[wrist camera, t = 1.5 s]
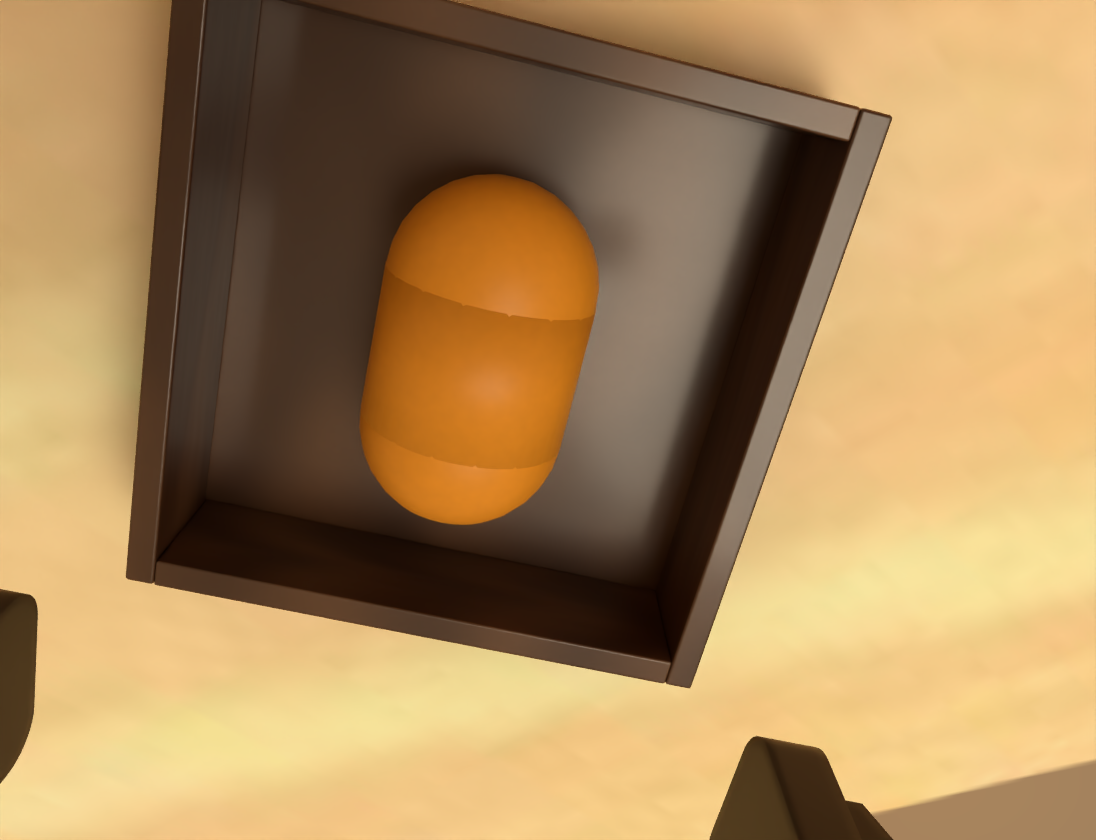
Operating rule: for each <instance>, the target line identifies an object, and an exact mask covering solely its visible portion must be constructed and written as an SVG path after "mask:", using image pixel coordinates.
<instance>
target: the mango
mask: <svg viewBox="0 0 1096 840" xmlns="http://www.w3.org/2000/svg"><path fill="white" fill-rule="evenodd" d="M598 292H599V273H598V264H597V260H596V256H595V252H594V248H593V245H592V243H591V241H590V239H589V237H588V235H587V233H586V231H585V228H584V227H583V225H582V224H581V223H580V221H579V220H578V219H577V217H576V216H575V215H574V213H573V212H572V211H571V209H570V208H569V207H567V206H566V205H565V204H564V203H563V202H562V201H561V200H560V199H559V198H558V197H556V196H555V195H554V194H552V193H551V192H549V191H547V190H545V189H544V188H542V187H540V186H539V185H537V184H535V183H533V182H530V181H527V180H524V179H520V178H516V177H512V176H507V175H501V174H486V175H472V176H469V177H465V178H461V179H458V180H454V181H451V182H449V183H448V184H446V185H444V186H442V187H440V188H438V189H436V190H434V191H432V192H431V193H430V194H428V195H427V196H426V197H425V198H423V199H422V200H421V201H420V202H418V203H417V204H416V205H415V206H414V207H413V209H412V210H411V211H410V212H409V214H408V215H407V216H406V217H405V218H404V220H403V221H402V223H401V225H400V227H399V228H398V230H397V232H396V234H395V236H394V238H393V240H392V243H391V247H390V250H389V254H388V257H387V261H386V263H385V269H384V274H383V280H382V286H381V292H380V298H379V303H378V309H377V315H376V321H375V326H374V332H373V338H372V344H371V350H370V355H369V361H368V367H367V373H366V378H365V384H364V390H363V396H362V402H361V409H360V424H359V429H360V436H361V442H362V447H363V451H364V455H365V457H366V460H367V462H368V465H369V467H370V470H371V472H372V473H373V475H374V476H375V477H376V479H377V480H378V482H379V483H380V485H381V486H382V487H383V489H384V490H385V492H386V493H388V494H389V495H390V496H391V497H392V498H393V499H394V500H395V501H397V502H398V503H399V504H400V505H401V506H403V507H404V508H406V509H407V510H409V511H410V512H412V513H414V514H416V515H418V516H421V517H424V518H426V519H429V520H433V521H437V522H440V523H447V524H456V525H471V524H478V523H483V522H486V521H490V520H493V519H496V518H499V517H502V516H504V515H506V514H507V513H509V512H511V511H512V510H514V509H516V508H517V507H519V506H521V505H522V504H524V503H525V502H526V501H527V500H528V499H529V498H530V497H531V496H532V495H533V494H534V493H535V492H536V491H537V490H538V489H539V488H540V487H541V486H542V484H543V483H544V481H545V480H546V478H547V477H548V475H549V473H550V472H551V470H552V469H553V466H554V463H555V461H556V458H557V455H558V453H559V450H560V447H561V443H562V439H563V435H564V432H565V428H566V424H567V420H568V416H569V412H570V409H571V405H572V401H573V397H574V393H575V390H576V386H577V382H578V378H579V374H580V370H581V367H582V363H583V359H584V355H585V351H586V348H587V344H588V340H589V336H590V332H591V328H592V325H593V321H594V317H595V313H596V305H597V299H598Z"/></svg>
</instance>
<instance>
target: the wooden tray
mask: <svg viewBox="0 0 1096 840" xmlns="http://www.w3.org/2000/svg"><path fill="white" fill-rule="evenodd" d="M891 121H892V117H891V116H890V115H887V114H883V113H880V112H876V111H872V110H868V109H864V108H859V107H857V106H853V105H849V104H845V103H841V102H837V101H834V100H830V99H826V98H822V97H818V96H814V95H811V94H807V93H803V92H799V91H795V90H791V89H787V88H784V87H780V86H776V85H772V84H768V83H764V82H761V81H757V80H753V79H749V78H745V77H741V76H738V75H734V74H730V73H726V72H722V71H718V70H714V69H711V68H707V67H703V66H699V65H695V64H691V63H688V62H684V61H680V60H676V59H672V58H668V57H665V56H661V55H657V54H653V53H649V52H645V51H642V50H638V49H634V48H630V47H626V46H622V45H618V44H615V43H611V42H607V41H603V40H599V39H595V38H592V37H588V36H584V35H580V34H576V33H572V32H569V31H565V30H561V29H557V28H553V27H549V26H545V25H542V24H538V23H534V22H530V21H526V20H522V19H519V18H515V17H511V16H507V15H503V14H499V13H496V12H492V11H488V10H484V9H480V8H476V7H472V6H469V5H465V4H461V3H457V2H453V1H449V0H172V5H171V17H170V30H169V42H168V55H167V67H166V80H165V93H164V105H163V118H162V130H161V143H160V155H159V168H158V180H157V193H156V205H155V218H154V230H153V243H152V256H151V268H150V281H149V293H148V306H147V318H146V331H145V343H144V356H143V368H142V381H141V393H140V406H139V419H138V431H137V444H136V456H135V469H134V481H133V494H132V506H131V519H130V531H129V544H128V556H127V569H126V578H127V579H130V580H135V581H140V582H145V583H155V585H159V586H164V587H169V588H174V589H179V590H185V591H190V592H195V593H200V594H205V595H210V596H216V597H221V598H226V599H231V600H236V601H241V602H246V603H252V604H257V605H262V606H267V607H272V608H277V609H283V610H288V611H293V612H298V613H303V614H308V615H313V616H319V617H324V618H329V619H334V620H339V621H344V622H349V623H355V624H360V625H365V626H370V627H375V628H380V629H386V630H391V631H396V632H401V633H406V634H411V635H416V636H422V637H427V638H432V639H437V640H442V641H447V642H453V643H458V644H463V645H468V646H473V647H478V648H483V649H489V650H494V651H499V652H504V653H509V654H514V655H519V656H525V657H530V658H535V659H540V660H545V661H550V662H556V663H561V664H566V665H571V666H576V667H581V668H586V669H592V670H597V671H602V672H607V673H612V674H617V675H623V676H628V677H633V678H638V679H643V680H648V681H653V682H659V683H665V682H666V683H667V684H669V685H675V686H680V687H685V688H690V687H691V685H692V682H693V679H694V676H695V674H696V671H697V668H698V665H699V662H700V659H701V657H702V654H703V651H704V648H705V645H706V643H707V640H708V637H709V634H710V631H711V628H712V626H713V623H714V620H715V617H716V614H717V612H718V609H719V606H720V603H721V600H722V597H723V595H724V592H725V589H726V586H727V583H728V580H729V578H730V575H731V572H732V569H733V566H734V564H735V561H736V558H737V555H738V552H739V549H740V547H741V544H742V541H743V538H744V535H745V533H746V530H747V527H748V524H749V521H750V518H751V516H752V513H753V510H754V507H755V504H756V501H757V499H758V496H759V493H760V490H761V487H762V485H763V482H764V479H765V476H766V473H767V470H768V468H769V465H770V462H771V459H772V456H773V453H774V451H775V448H776V445H777V442H778V439H779V437H780V434H781V431H782V428H783V425H784V422H785V420H786V417H787V414H788V411H789V408H790V406H791V403H792V400H793V397H794V394H795V391H796V389H797V386H798V383H799V380H800V377H801V374H802V372H803V369H804V366H805V363H806V360H807V358H808V355H809V352H810V349H811V346H812V343H813V341H814V338H815V335H816V332H817V329H818V327H819V324H820V321H821V318H822V315H823V312H824V310H825V307H826V304H827V301H828V298H829V295H830V293H831V290H832V287H833V284H834V281H835V279H836V276H837V273H838V270H839V267H840V264H841V262H842V259H843V256H844V253H845V250H846V248H847V245H848V242H849V239H850V236H851V233H852V231H853V228H854V225H855V222H856V219H857V216H858V214H859V211H860V208H861V205H862V202H863V200H864V197H865V194H866V191H867V188H868V185H869V183H870V180H871V177H872V174H873V171H874V168H875V166H876V163H877V160H878V157H879V154H880V152H881V149H882V146H883V143H884V140H885V137H886V135H887V132H888V129H889V126H890V123H891ZM486 174H501V175H507V176H512V177H516V178H520V179H524V180H527V181H530V182H533V183H535V184H537V185H539V186H540V187H542V188H544V189H545V190H547V191H549V192H551V193H552V194H554V195H555V196H556V197H558V198H559V199H560V200H561V201H562V202H563V203H564V204H565V205H566V206H567V207H569V208H570V209H571V211H572V212H573V213H574V215H575V216H576V217H577V219H578V220H579V221H580V223H581V224H582V225H583V227H584V228H585V231H586V233H587V235H588V237H589V239H590V241H591V243H592V245H593V248H594V252H595V256H596V260H597V264H598V273H599V292H598V299H597V305H596V313H595V317H594V321H593V325H592V328H591V332H590V336H589V340H588V344H587V348H586V351H585V355H584V359H583V363H582V367H581V370H580V374H579V378H578V382H577V386H576V390H575V393H574V397H573V401H572V405H571V409H570V412H569V416H568V420H567V424H566V428H565V432H564V435H563V439H562V443H561V447H560V450H559V453H558V455H557V458H556V461H555V463H554V466H553V469H552V470H551V472H550V473H549V475H548V477H547V478H546V480H545V481H544V483H543V484H542V486H541V487H540V488H539V489H538V490H537V491H536V492H535V493H534V494H533V495H532V496H531V497H530V498H529V499H528V500H527V501H526V502H525V503H524V504H522V505H521V506H519V507H517V508H516V509H514V510H512V511H511V512H509V513H507V514H506V515H504V516H502V517H499V518H496V519H493V520H490V521H486V522H483V523H478V524H471V525H456V524H447V523H440V522H437V521H433V520H429V519H426V518H424V517H421V516H418V515H416V514H414V513H412V512H410V511H409V510H407V509H406V508H404V507H403V506H401V505H400V504H399V503H398V502H397V501H395V500H394V499H393V498H392V497H391V496H390V495H389V494H388V493H386V492H385V490H384V489H383V487H382V486H381V485H380V483H379V482H378V480H377V479H376V477H375V476H374V475H373V473H372V472H371V470H370V467H369V465H368V462H367V460H366V457H365V455H364V451H363V447H362V442H361V436H360V429H359V424H360V409H361V402H362V396H363V390H364V384H365V378H366V373H367V367H368V361H369V355H370V350H371V344H372V338H373V332H374V326H375V321H376V315H377V309H378V303H379V298H380V292H381V286H382V280H383V274H384V269H385V263H386V261H387V257H388V254H389V250H390V247H391V243H392V240H393V238H394V236H395V234H396V232H397V230H398V228H399V227H400V225H401V223H402V221H403V220H404V218H405V217H406V216H407V215H408V214H409V212H410V211H411V210H412V209H413V207H414V206H415V205H416V204H417V203H418V202H420V201H421V200H422V199H423V198H425V197H426V196H427V195H428V194H430V193H431V192H432V191H434V190H436V189H438V188H440V187H442V186H444V185H446V184H448V183H449V182H451V181H454V180H458V179H461V178H465V177H469V176H472V175H486Z"/></svg>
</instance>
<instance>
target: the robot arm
mask: <svg viewBox="0 0 1096 840" xmlns="http://www.w3.org/2000/svg"><path fill="white" fill-rule="evenodd" d="M37 620H38V609H37V604H36V601H35V599H34V598H33V596H31V595H28V594H23V593H18V592H13V591H7V590H2V589H0V783H1V782H2V781H3V780H4V778H5V777H6V776H7V774H8V773H9V772H10V770H11V769H12V767H13V766H14V764H15V762H16V761H17V759H18V757H19V755H20V753H21V751H22V749H23V747H24V745H25V742H26V739H27V737H28V734H29V731H30V727H31V723H32V719H33V714H34V698H35V672H36V646H37ZM709 840H893V839H892V838H891V837H890V836H889V834H888V833H887V832H886V831H885V830H884V829H883V827H882V826H881V825H880V824H879V823H878V822H877V820H876V819H875V818H874V817H873V816H872V815H871V813H870V812H869V811H868V810H867V809H866V808H865V807H864V805H863V804H861V803H856V802H850V801H845V799H844V796H843V794H842V792H841V789H840V787H839V785H838V782H837V780H836V777H835V775H834V773H833V770H832V768H831V766H830V763H829V761H828V759H827V757H826V755H825V754H824V752H823V751H822V750H821V749H819V748H816V747H811V746H806V745H801V744H795V743H790V742H785V741H780V740H774V739H769V738H764V737H759V736H756V737H753V738H752V739H751V740H750V741H749V742H748V743H747V745H746V747H745V749H744V751H743V754H742V756H741V759H740V761H739V764H738V766H737V769H736V771H735V774H734V777H733V779H732V782H731V784H730V787H729V789H728V792H727V794H726V797H725V800H724V802H723V805H722V807H721V810H720V812H719V815H718V817H717V820H716V823H715V825H714V828H713V830H712V833H711V836H710V839H709Z"/></svg>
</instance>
